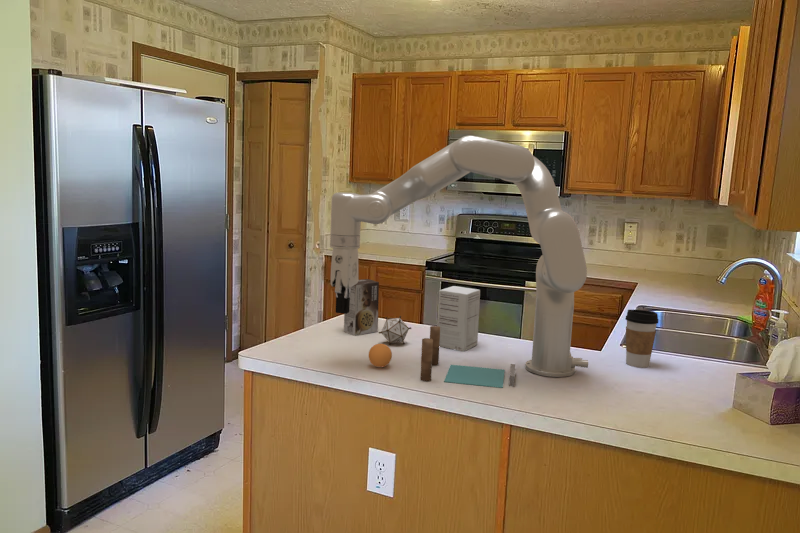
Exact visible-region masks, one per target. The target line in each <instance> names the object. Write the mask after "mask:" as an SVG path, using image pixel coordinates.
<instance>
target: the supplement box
mask: <svg viewBox="0 0 800 533" xmlns="http://www.w3.org/2000/svg"><path fill="white" fill-rule="evenodd" d="M480 298H481V289H477V288H471V287H465V286H458V285H457V286H456V285H452V286H449V287H445V288H443V289H440V290H438V302H437V304H438V306H437V325H436V326H439V327H440V344H439V346H441V348H444V347H445V349H449V348H450V350H454V349H455V350H456V351H460V352H466V351H468V350H469V349H471V348H473V347H475V346H476V345H478V337H479V321H480V320H479V318H480V302H481V299H480Z"/></svg>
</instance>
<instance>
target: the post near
mask: <svg viewBox="0 0 800 533" xmlns="http://www.w3.org/2000/svg"><path fill="white" fill-rule="evenodd" d="M432 350H433V339H430V337H429V338H428V337H425V338H422V339H421V357H420V379H419V380H420V381H422V382H431V381H432V373H433V372H432V367H433V366H432Z"/></svg>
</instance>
